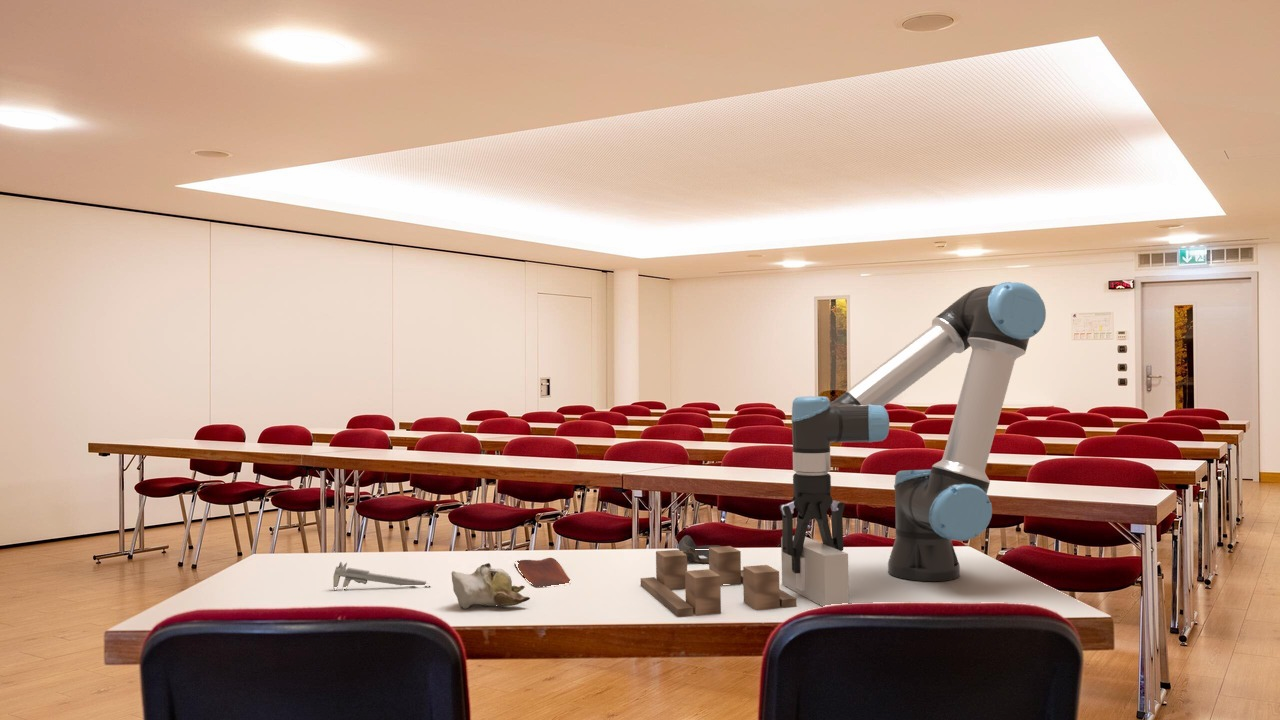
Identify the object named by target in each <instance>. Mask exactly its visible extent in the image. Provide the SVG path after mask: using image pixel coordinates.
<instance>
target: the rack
mask: <svg viewBox="0 0 1280 720" xmlns="http://www.w3.org/2000/svg"><path fill="white" fill-rule="evenodd" d="M741 555H742V554H741V551H740V550H739V549H737V548H736V547H733V546H731V545H727V546H721V547H710V548H709V563H708V569H696V570H695V569H694V570H688V555H687V553H683V552H682V551H680V550H679V549H670V550H669V549H668V550H656V551H655V572H656V573H655V575H656V576H655V577H654V576H652V577H640V586H641V587H642V588H643V589H644V590H646V591H647V592H648V593H649V594H650V595H651V596H653V597H654V598H655V599H656V600H657V601H658V602H659V603H661V604H662V605H663V606H665V608H667V609H668V610H669V611H671V613H672V614H674V615H675V616H676V617H677V618H679V617H680V618H681V617H693V616H703V615H704V616H705V615H714V614H721V613H722V605H721V604H722V594H721V592H722V591H721V590H722V589H721V588H722V586H721V585H723V584H738V585H743V604H746V605H747V606H749V607H751V608H752V609H754V610H755V611H759V610H770V609H780V608H791V607H797V598H796V597H794V596H793V595H791V594H789V593H788V592H786V591H784V590H782V589H781V588H780V570H778V569H776V568H774V567H772V566H770V565H769V564H760V565H746V566H743V567H742V566H741V564H742V561H741ZM742 583H743V584H742ZM674 590H684V591H685V592H684V593H685V600H684V599H683V598H681V596H679V595H678V594H677V593H675V592H674Z"/></svg>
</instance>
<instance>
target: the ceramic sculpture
mask: <svg viewBox="0 0 1280 720" xmlns="http://www.w3.org/2000/svg"><path fill="white" fill-rule="evenodd" d="M451 582H452V587H453V593H454V595H455V596H456V598H457V602H458V605H459V606H460V607H461V608H462V607H463V609H468V608H469V607H470V606H472V605H482V606H484V605H485V606H484V607H491V606H494V607H497V606H496V605H500V606H505V607H514V606H516V605H519V604H522V603H525V602H527V601H529V600H530V599H531V597H529V596H524V595H522V594H521V591H523V590H524V589H525V587H526V586H525V585H519V586H516V585H513V583H512V577H511V575H510V574H509V573H508V572H507V571H505V570H504V569H502V568H492V566H491V563H489V562H488V563H485V564H481V565H480V566H479V567H477V568H476V569H475V571H473V573H470V574H469V573H468V574H467V573H464V572H463V573H462V572H459V571H458V572H457V571H454V570H453V571H452V572H451Z"/></svg>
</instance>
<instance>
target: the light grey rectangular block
mask: <svg viewBox="0 0 1280 720" xmlns="http://www.w3.org/2000/svg"><path fill="white" fill-rule="evenodd" d="M793 539H794V535H793ZM780 540H781V541H780V544H781V545H780V547H781V548H780V549H781V586H784V587H785V588H788V589H790V590H791V591H793V592H795V593H797V594H799V595H801V596H803V597H804V598H805V599H808V600H810V601H811V602H814V603H815V604H817V605H819V604H821V605H820V606H821V607H823V606H825V605H831V604H842V603H849V604H850V591H849V590H850V587H849V583H850V582H849V581H850V580H849V553H847V552H845V551H840V550H837V549H835V548H832V547H830V546H827V545H825V544H823V542H820V541H818V540H815V539H812V538H810V537H807V536H805V540H804V545H803V549H802V554H801V557H804V558H805V591H801V590H800V589H798V588H796V573H794V572H793V571H792V557H791V555H788V554H786V553H784V552H783V551H782V536H781V537H780Z"/></svg>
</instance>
